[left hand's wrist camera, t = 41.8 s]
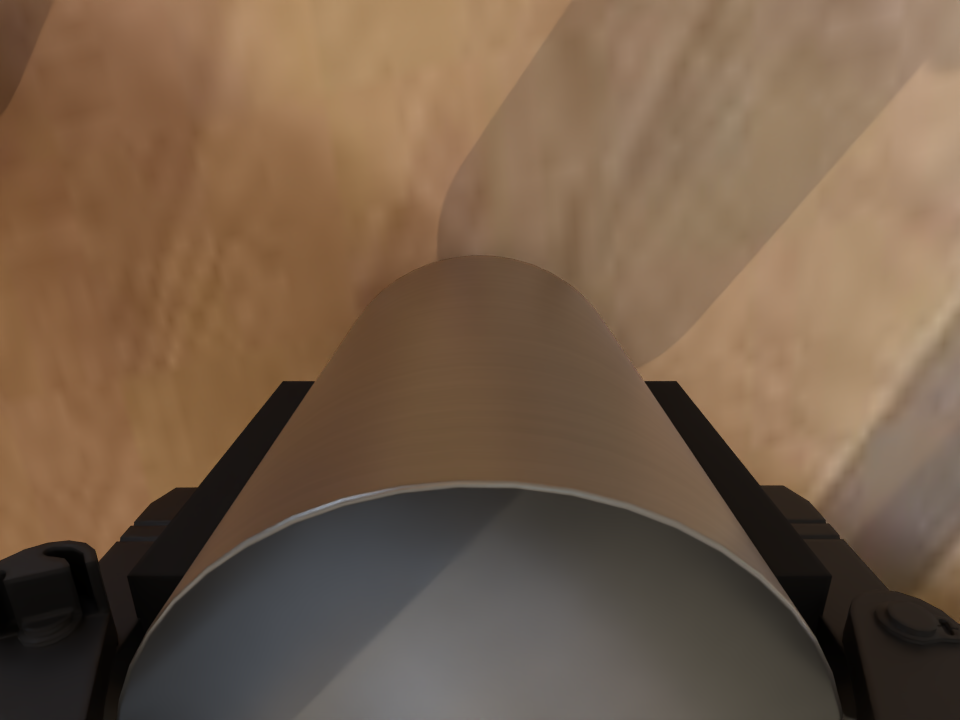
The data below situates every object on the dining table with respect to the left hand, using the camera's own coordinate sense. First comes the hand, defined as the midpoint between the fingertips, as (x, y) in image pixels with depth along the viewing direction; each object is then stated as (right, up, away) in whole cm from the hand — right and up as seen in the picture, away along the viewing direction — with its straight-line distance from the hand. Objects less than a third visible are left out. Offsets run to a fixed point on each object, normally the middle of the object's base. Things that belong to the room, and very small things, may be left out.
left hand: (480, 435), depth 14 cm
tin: (0, +1, +2) cm, 2 cm away
